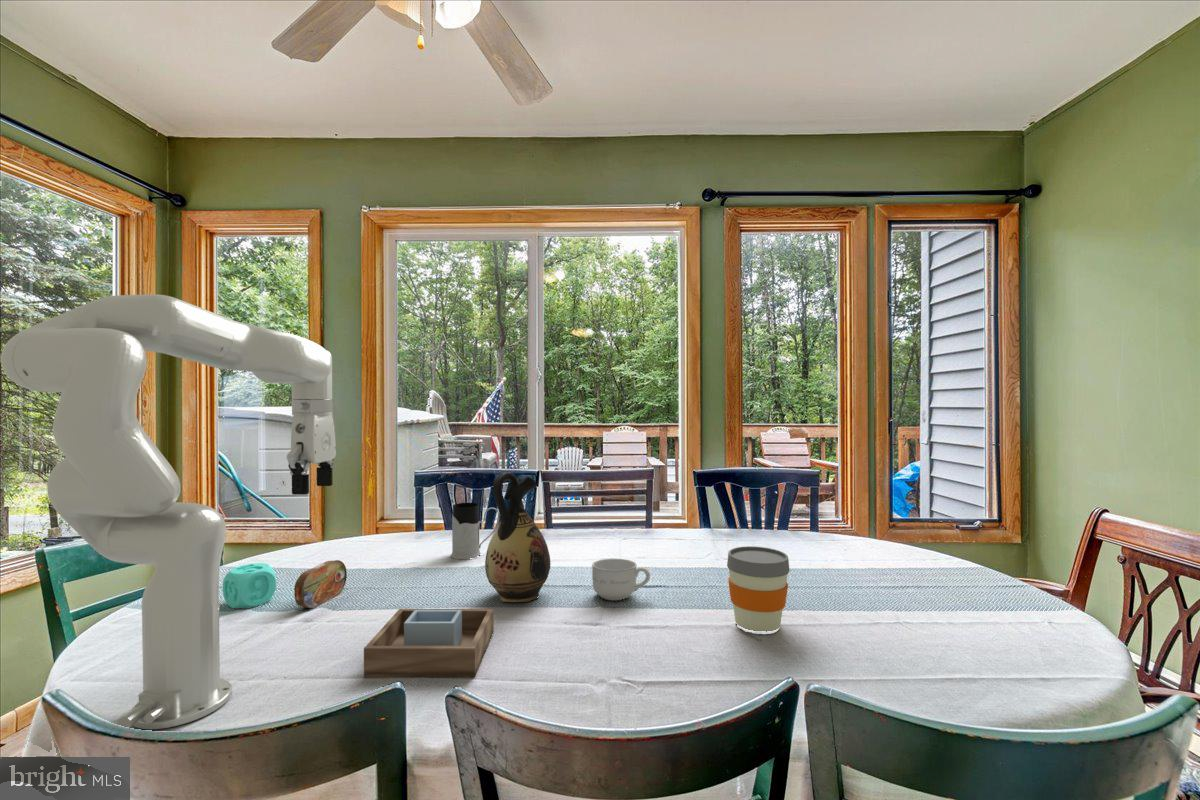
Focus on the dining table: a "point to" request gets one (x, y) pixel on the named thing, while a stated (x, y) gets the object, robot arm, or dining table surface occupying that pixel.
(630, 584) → the teacup
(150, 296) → the robot arm
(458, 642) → the small crate
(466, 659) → the tray
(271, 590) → the decorative dice
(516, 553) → the ceramic jug
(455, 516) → the glass holder
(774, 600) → the reusable coffee cup
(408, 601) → the dining table surface
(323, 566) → the tin
